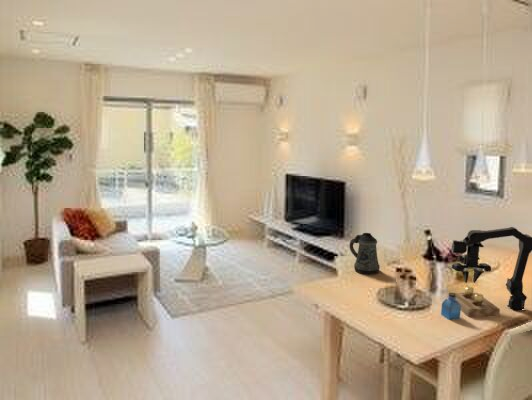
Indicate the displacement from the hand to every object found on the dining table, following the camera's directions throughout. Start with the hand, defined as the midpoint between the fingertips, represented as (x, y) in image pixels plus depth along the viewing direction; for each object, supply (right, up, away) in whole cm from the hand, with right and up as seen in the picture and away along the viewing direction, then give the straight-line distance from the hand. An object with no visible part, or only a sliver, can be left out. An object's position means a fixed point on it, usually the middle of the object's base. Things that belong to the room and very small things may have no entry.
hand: (470, 282), depth 232 cm
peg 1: (0, -7, +1) cm, 7 cm away
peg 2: (0, -9, -9) cm, 12 cm away
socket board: (0, -13, -3) cm, 13 cm away
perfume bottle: (-17, -15, -14) cm, 26 cm away
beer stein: (-44, -3, +55) cm, 70 cm away
